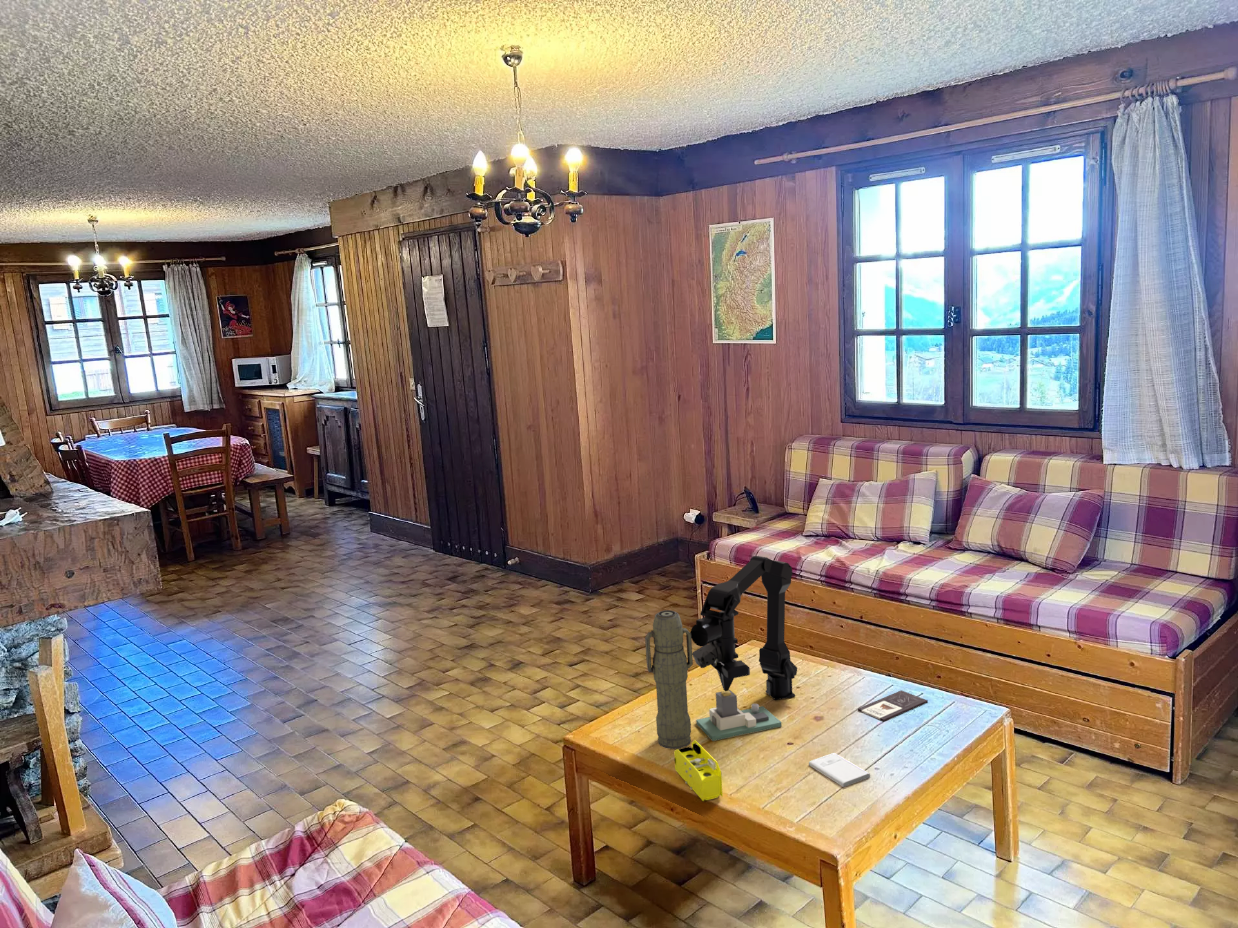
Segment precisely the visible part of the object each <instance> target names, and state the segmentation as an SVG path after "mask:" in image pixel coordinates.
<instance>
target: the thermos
mask: <svg viewBox="0 0 1238 928" xmlns="http://www.w3.org/2000/svg"><path fill="white" fill-rule="evenodd" d="M690 632H691V631H689V630H688V629H687V628H686V627H683V623H682V618H681V617H680V614H679V613H678V612H676V611H674V610H671V609H670V610H667V609H666V610H661V611H660V612H657V613H656V614H655V615H654V619H653V622H652V629H651V631H649V632H648V633H647V634H646V636H645V637H644V640H645V656H646V657H645V658H646V666H647V667H646V668H647V671H648V673H652V674H653V680H654V682H655V688H656V689H655V690H656V704H657V705H656V707H657V714H656V717H655V722H656V735H657V743H658V745H659V746H660V747H662V748H664V749H668V750H677V749H678V750H679V749H682V748H686V747H689V745H691V744H692V738H691V734H692V725H691V724H692V723H691V722H692V721H691V717H690V714H689V709H688V706H689V705H688V691H687V688H688V687H687V680H688V675H689V674H688V671H689V669H690V668H691V667H692V666H693V664H694V661H693V660H694V658H693V655H692V653H693V647H692V646H693V645H692V644H693V640H692V638H691V633H690ZM684 635H685V637H686V652H685V648H684V644H683V643H684ZM651 638H653V644H654V647H653V649H654V651H653V655H652V654H651V641H650V640H651ZM651 655H652V656H651ZM651 657H652V658H651Z"/></svg>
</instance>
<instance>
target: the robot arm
mask: <svg viewBox="0 0 1238 928" xmlns="http://www.w3.org/2000/svg"><path fill="white" fill-rule="evenodd" d="M792 577H793V568H792V566H791V565H790V563H788V562H785V561H779V560H774V559H771V558H768V557H767V556H761V555H754V556H751V558H750V559H749V562H747V563H746V564H745V565H744V566H743V567H742V568H741V569H740V570H738V571H737V572H736V573H735V574H734V575H733V576H732V577H731V578H730V579H728V581H725V582H721V583H717V584H715V585H714V586H713V587H710V589H709V590H708V593H707V594H706V597H705V600H704V602H703V606H702V609H701V611H700V616H703V617H702V618H698V619H696V620H695V623H696V624H694V625H693V626H692V627H691V630H690V631H689V632H690V633H691V641H692V643H694V644H695V645H697V646H698V647H699V648H697V649H696V650H694V651H692V658H693V660H694V661H695V664H696V665H697V666H699V667H700V669H705V668H707V667H708V666H711V667H712V668H714V669H715V671H716V672H717V674H718V677H719V679H720V683H721V687H722V689H723V690H722V691H728V690H730V688H731V686H732V684H733V681H734V680H735V679H737V678H743V677H748V676H750V675H751V667H750V666H748V665H747V664H746V663H745V662H743V661H742V660H737V659H739V653H737V652H736V644H738V639H737V637H735V617H736V616H738V615H739V611H737V610H736V608H737V607H738V606H739V604H740V603H741V600H742V599H741V597H742V595H743V594H744V593H745V592H747V590H748V589H749V588H750V587H751V586H752V585H753V584H754V583H756V581H757V580H759V578H761V583H762V585H763V587H764V589H765V590H766V593H767V595H766V604H767V605H766V642H765V644H764V645H763V646H762V647H760V648H759V650H758V653H759V658H758V662H759V665H760V668H761V671H762V674H765V675H767V679H766V680H765V685H766V689H765V693H766V694H767V695H768V696H769V697H770V698H772V699H773V700H774V701H779V700H784V699H788V698H794V697H796V694H795V693H794V692H793V679H795V676H797V672H798V666H796V664H795V663H793V662H792V660H791V653H790V650H789V648H788V645H787V644H786V642H785V620H786V619H785V616H786V613H785V612H786V591H787V590H788V588H789V587H790V585H791V584H792ZM711 609H713V610H711Z"/></svg>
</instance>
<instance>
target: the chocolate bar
mask: <svg viewBox="0 0 1238 928" xmlns="http://www.w3.org/2000/svg"><path fill="white" fill-rule="evenodd" d="M924 703H925V704H927V703H929V702H928V700H927V699H925V698H923V697H920V696H917V695H914V694H912V693H909V692H906V691H904V690H901V689H900V690H899V691H896V692H893V693H892V694H889V695H887V696H884V697H882V698H879V699H877V700H875V701H872V702H871V703H868V704H865V705H862V706H860V707H858V708H857V711H859V712H860V713H862V714H863V713H864V714H865V715H867V716H870V717H872V718H875V719H878V720H880V721H882V722H886V721H888V720H890V719H894V718H895V717H897V716H900V715H902V714H905V713H906V712H909V711H911V710H913V708H914V709H916V708H918V707H920V706H923V705H925V704H924Z"/></svg>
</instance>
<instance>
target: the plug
mask: <svg viewBox="0 0 1238 928" xmlns="http://www.w3.org/2000/svg"><path fill="white" fill-rule="evenodd" d="M715 703H716V705H715V706H716V707H715V708H716V710H717V714H718V715H719V716H720V717H721V718H724V717H729V716H734V715H737V708H738V697H737V695H736V694H735V693H734V692H733V691H732V690H731V689H729V690H728V691H724V690H722V691H718V692H715Z"/></svg>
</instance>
